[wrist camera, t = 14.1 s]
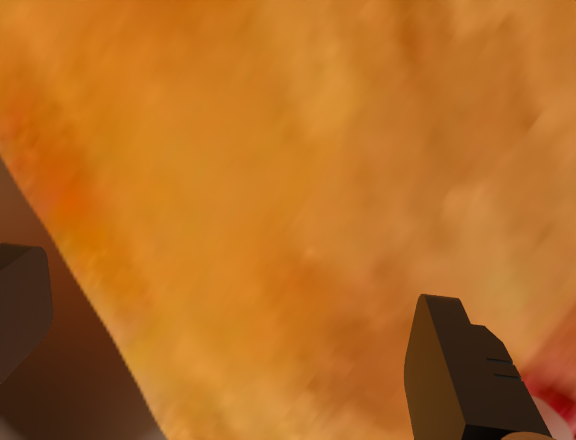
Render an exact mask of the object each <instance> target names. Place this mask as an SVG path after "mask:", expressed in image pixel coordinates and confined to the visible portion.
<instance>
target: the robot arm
mask: <svg viewBox="0 0 576 440" xmlns="http://www.w3.org/2000/svg"><path fill="white" fill-rule="evenodd" d="M52 318H53V303H52V294H51V286H50V277H49V268H48V259H47V255H46V252H45V251H44V250H43V248H41V247H39V246H31V245H22V244H14V243H1V244H0V384H1V383H2V382H3V381H4V380H5V379H6V378H7V377H8V376H9V375H10V374H11V373H12V372H13V371H14V370H15V368H16V367H17V366H18V365H19V364H20V363H21V362H22V361H23V360H24V359H25V358H26V357H27V356H28V355H29V354H30V353H31V351H33V349H34V348H35V347H36V346H37V345H38V344H39V343H40V342H41V341H42V340H43V339H44V338H45V336H46V335H47V333H48V331H49V329H50V326H51V323H52ZM404 385H405V391H406V397H407V402H408V408H409V413H410V418H411V424H412V429H413V435H414V440H556V439H554V438H552V436H551V434H550V432H549V430H548V428H547V426H546V424H545V422H544V421H543V419H542V417H541V415H540V413H539V411H538V409H537V407H536V405H535V403H534V401H533V399H532V397H531V395H530V394H529V392H528V390H527V388H526V386H525V384H524V382H523V381H521V376H520V374H519V372H518V371H517V369H516V367H515V365H513V361H512V359H511V357H510V355H509V353H508V351H507V349H506V348H505V346H504V344H503V342H502V341H500V340H499V339H498V338H497V337H496V336H495V335H494V334H493V333H492V332H490V331H489V330H488V329H487V328H486V327H485V326H482V325H474V324H471V323H470V321H469V319H468V316H467V314H466V312H465V310H464V307H463V305H462V303H461V301H460V299H458V298H452V297H444V296H436V295H428V294H421V295H420V296H419V299H418V302H417V305H416V310H415V315H414V319H413V324H412V329H411V333H410V338H409V343H408V347H407V352H406V357H405V365H404Z"/></svg>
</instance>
